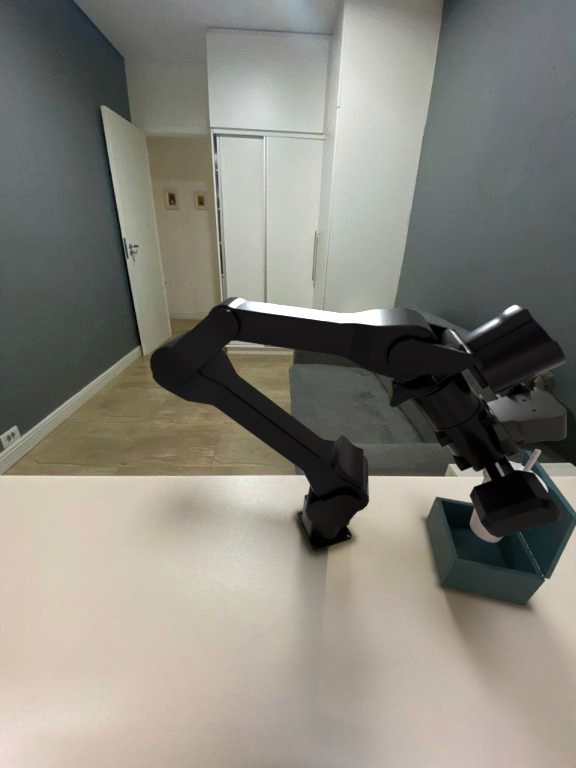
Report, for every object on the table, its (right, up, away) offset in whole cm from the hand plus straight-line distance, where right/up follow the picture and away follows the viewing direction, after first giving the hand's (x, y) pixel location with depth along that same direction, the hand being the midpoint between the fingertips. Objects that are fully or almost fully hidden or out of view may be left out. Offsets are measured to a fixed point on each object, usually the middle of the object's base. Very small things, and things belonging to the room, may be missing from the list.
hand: (517, 498), depth 38 cm
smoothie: (-2, -6, +3) cm, 7 cm away
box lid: (+3, -2, 0) cm, 3 cm away
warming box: (-2, -11, +6) cm, 13 cm away
